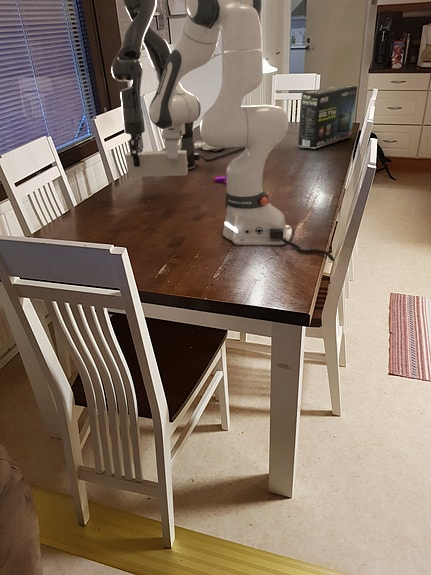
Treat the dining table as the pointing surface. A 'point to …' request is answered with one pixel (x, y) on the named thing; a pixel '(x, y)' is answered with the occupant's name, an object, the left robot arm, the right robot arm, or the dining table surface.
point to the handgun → (220, 179)
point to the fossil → (206, 146)
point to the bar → (156, 164)
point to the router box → (326, 115)
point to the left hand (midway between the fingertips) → (138, 163)
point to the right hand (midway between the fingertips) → (176, 165)
